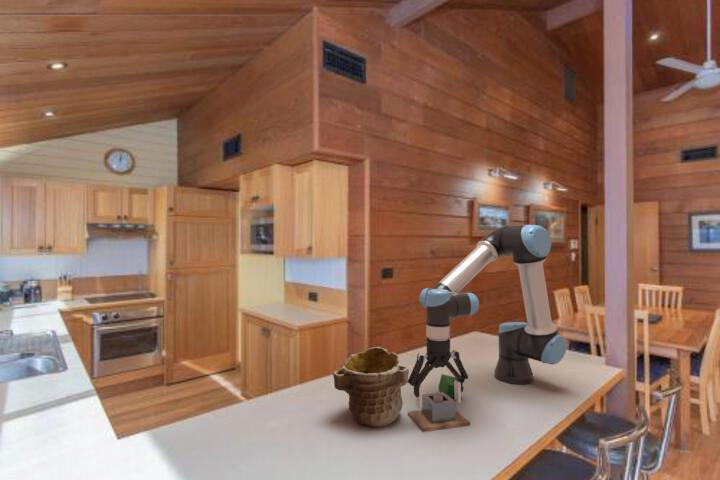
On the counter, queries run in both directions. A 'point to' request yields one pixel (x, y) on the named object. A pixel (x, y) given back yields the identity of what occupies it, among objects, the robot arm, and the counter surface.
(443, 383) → the clamp
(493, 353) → the counter surface
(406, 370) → the ceramic vessel
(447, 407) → the collar
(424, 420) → the post board
